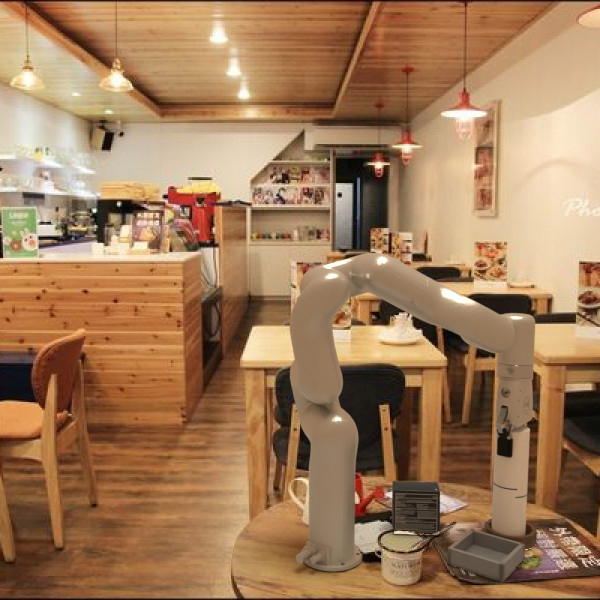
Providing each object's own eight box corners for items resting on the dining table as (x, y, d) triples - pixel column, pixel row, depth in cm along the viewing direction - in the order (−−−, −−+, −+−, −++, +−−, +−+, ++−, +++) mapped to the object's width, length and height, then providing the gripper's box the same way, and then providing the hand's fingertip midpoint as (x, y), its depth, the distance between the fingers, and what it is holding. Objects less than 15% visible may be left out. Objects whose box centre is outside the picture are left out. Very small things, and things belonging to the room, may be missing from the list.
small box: (437, 524, 157) (438, 480, 157) (440, 537, 151) (441, 491, 150) (391, 522, 159) (392, 479, 158) (392, 535, 152) (393, 489, 151)
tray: (502, 582, 131) (503, 565, 131) (447, 564, 138) (447, 548, 138) (524, 560, 140) (524, 543, 140) (471, 544, 147) (471, 528, 147)
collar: (525, 556, 142) (525, 542, 142) (477, 542, 148) (477, 528, 148) (542, 538, 150) (543, 525, 150) (496, 526, 157) (496, 513, 156)
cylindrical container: (488, 531, 153) (493, 422, 151) (521, 533, 152) (526, 424, 150) (493, 545, 146) (497, 431, 144) (527, 547, 145) (532, 433, 143)
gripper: (516, 379, 137) (513, 465, 138) (546, 367, 150) (542, 446, 152) (481, 374, 141) (478, 458, 143) (512, 363, 155) (509, 439, 156)
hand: (511, 451), depth 147 cm, fingers closed on cylindrical container, 7 cm apart
